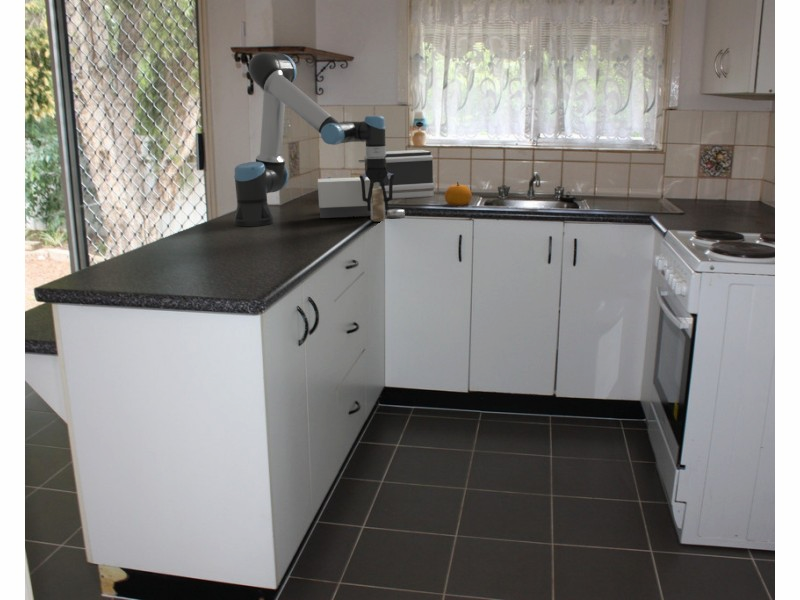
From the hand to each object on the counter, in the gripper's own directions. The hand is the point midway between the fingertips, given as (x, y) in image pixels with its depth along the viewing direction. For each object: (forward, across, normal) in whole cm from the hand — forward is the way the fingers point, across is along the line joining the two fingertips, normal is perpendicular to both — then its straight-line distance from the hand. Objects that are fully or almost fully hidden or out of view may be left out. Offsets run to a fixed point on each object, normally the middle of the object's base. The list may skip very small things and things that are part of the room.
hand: (378, 218), depth 291 cm
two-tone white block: (+1, -10, +13) cm, 17 cm away
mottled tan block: (+1, 0, +6) cm, 6 cm away
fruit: (+1, +38, +36) cm, 52 cm away
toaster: (+2, +13, +73) cm, 75 cm away
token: (+1, +8, +10) cm, 13 cm away
